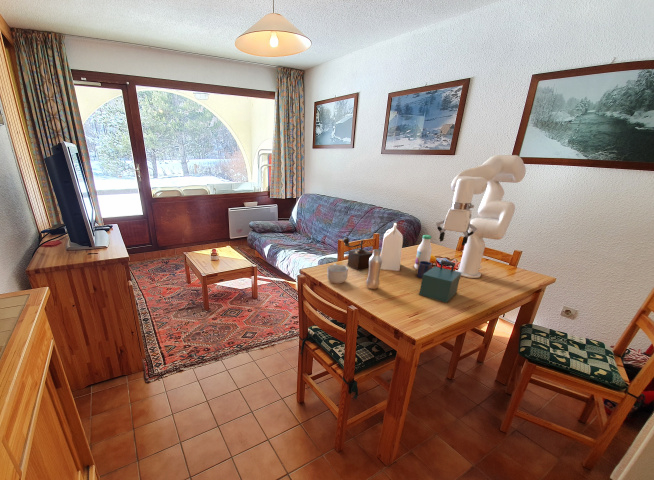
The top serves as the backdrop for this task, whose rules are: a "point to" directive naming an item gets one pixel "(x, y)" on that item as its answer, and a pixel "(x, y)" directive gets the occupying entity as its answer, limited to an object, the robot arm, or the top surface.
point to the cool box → (438, 288)
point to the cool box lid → (443, 272)
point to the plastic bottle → (374, 269)
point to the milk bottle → (424, 250)
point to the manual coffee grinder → (358, 256)
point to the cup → (423, 268)
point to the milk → (392, 249)
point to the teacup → (337, 273)
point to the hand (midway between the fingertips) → (452, 242)
